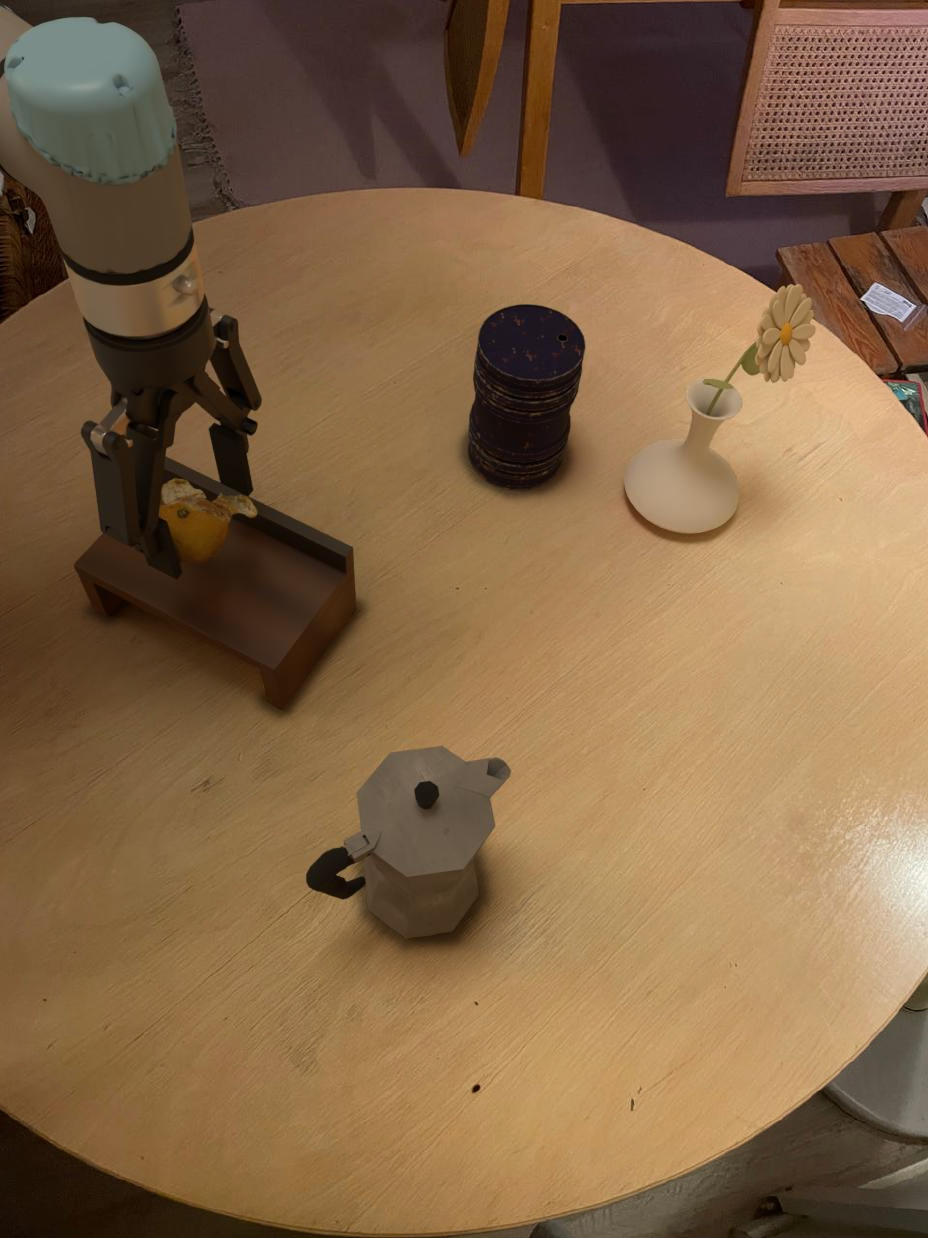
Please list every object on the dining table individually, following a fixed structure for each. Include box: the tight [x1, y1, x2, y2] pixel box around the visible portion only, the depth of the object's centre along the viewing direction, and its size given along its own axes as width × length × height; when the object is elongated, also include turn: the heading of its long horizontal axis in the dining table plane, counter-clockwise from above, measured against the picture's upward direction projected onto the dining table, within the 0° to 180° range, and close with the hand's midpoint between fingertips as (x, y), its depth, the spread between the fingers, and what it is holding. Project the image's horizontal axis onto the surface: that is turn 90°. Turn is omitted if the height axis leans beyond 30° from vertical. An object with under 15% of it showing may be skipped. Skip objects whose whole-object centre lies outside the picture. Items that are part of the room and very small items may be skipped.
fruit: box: [159, 478, 257, 564], centre depth 81 cm, size 8×8×4 cm
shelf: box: [73, 456, 357, 711], centre depth 89 cm, size 12×20×9 cm, turn 62°
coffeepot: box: [305, 745, 512, 939], centre depth 73 cm, size 15×9×18 cm, turn 122°
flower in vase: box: [623, 283, 817, 534], centre depth 93 cm, size 13×11×25 cm
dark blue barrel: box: [467, 303, 586, 491], centre depth 99 cm, size 10×10×15 cm
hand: (202, 526), depth 82 cm, fingers closed on fruit, 9 cm apart
